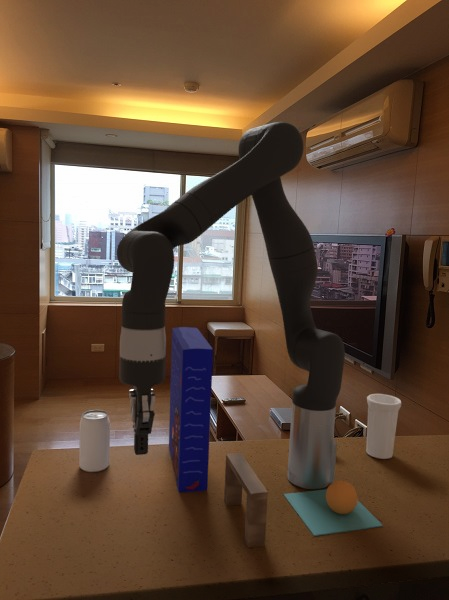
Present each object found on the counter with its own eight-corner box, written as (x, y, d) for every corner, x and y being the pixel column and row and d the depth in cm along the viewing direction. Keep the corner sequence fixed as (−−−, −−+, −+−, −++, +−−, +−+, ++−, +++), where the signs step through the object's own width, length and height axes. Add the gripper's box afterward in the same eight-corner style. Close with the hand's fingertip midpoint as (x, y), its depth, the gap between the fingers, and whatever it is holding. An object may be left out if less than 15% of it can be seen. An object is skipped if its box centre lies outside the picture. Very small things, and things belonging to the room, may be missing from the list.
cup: (401, 462, 117) (406, 405, 115) (367, 461, 117) (372, 403, 115) (390, 448, 125) (395, 394, 123) (358, 446, 125) (363, 392, 123)
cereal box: (207, 490, 100) (213, 348, 96) (178, 492, 99) (183, 348, 95) (192, 445, 121) (197, 326, 117) (168, 446, 120) (172, 326, 116)
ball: (326, 508, 97) (351, 492, 98) (341, 526, 91) (368, 509, 92) (315, 485, 96) (341, 469, 97) (330, 502, 90) (357, 485, 91)
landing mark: (344, 488, 103) (344, 487, 103) (382, 526, 90) (383, 525, 90) (283, 495, 100) (283, 494, 100) (314, 536, 86) (314, 535, 86)
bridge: (238, 498, 97) (240, 452, 96) (264, 545, 83) (267, 491, 82) (224, 500, 97) (226, 454, 95) (248, 547, 82) (251, 493, 81)
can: (101, 474, 105) (102, 421, 103) (73, 470, 106) (74, 418, 104) (114, 461, 111) (114, 411, 109) (88, 457, 112) (88, 407, 111)
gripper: (172, 362, 75) (169, 468, 77) (159, 343, 88) (157, 435, 90) (122, 364, 73) (121, 473, 75) (117, 344, 86) (115, 438, 88)
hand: (140, 452), depth 83 cm, fingers closed
